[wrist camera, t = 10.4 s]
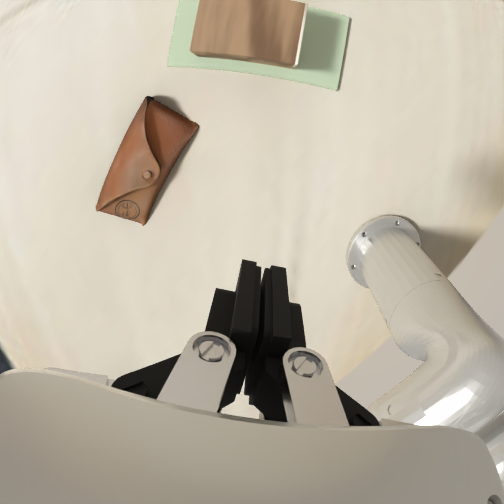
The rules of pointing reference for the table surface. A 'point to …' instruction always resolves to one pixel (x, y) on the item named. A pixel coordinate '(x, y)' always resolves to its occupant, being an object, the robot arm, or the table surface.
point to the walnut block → (250, 31)
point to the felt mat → (307, 71)
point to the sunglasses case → (144, 161)
